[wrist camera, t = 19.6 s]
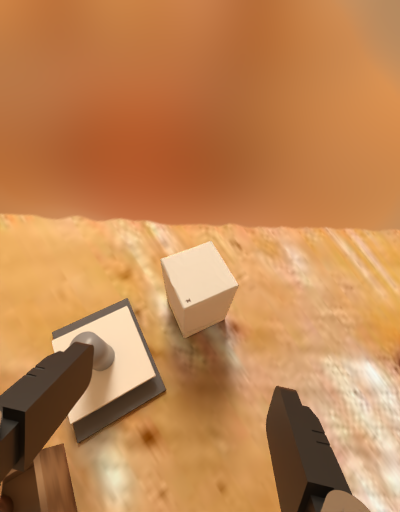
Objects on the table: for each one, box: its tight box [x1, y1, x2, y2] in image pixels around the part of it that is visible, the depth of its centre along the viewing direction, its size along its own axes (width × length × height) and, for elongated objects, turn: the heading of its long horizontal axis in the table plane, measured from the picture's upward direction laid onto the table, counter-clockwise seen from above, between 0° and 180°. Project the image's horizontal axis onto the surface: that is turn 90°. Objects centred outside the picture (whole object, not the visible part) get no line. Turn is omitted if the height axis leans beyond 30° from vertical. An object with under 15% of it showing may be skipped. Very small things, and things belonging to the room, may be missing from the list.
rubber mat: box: [52, 298, 166, 443], centre depth 41 cm, size 18×14×1 cm
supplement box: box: [161, 241, 239, 338], centre depth 41 cm, size 9×9×15 cm
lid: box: [52, 306, 156, 424], centre depth 36 cm, size 13×13×10 cm
